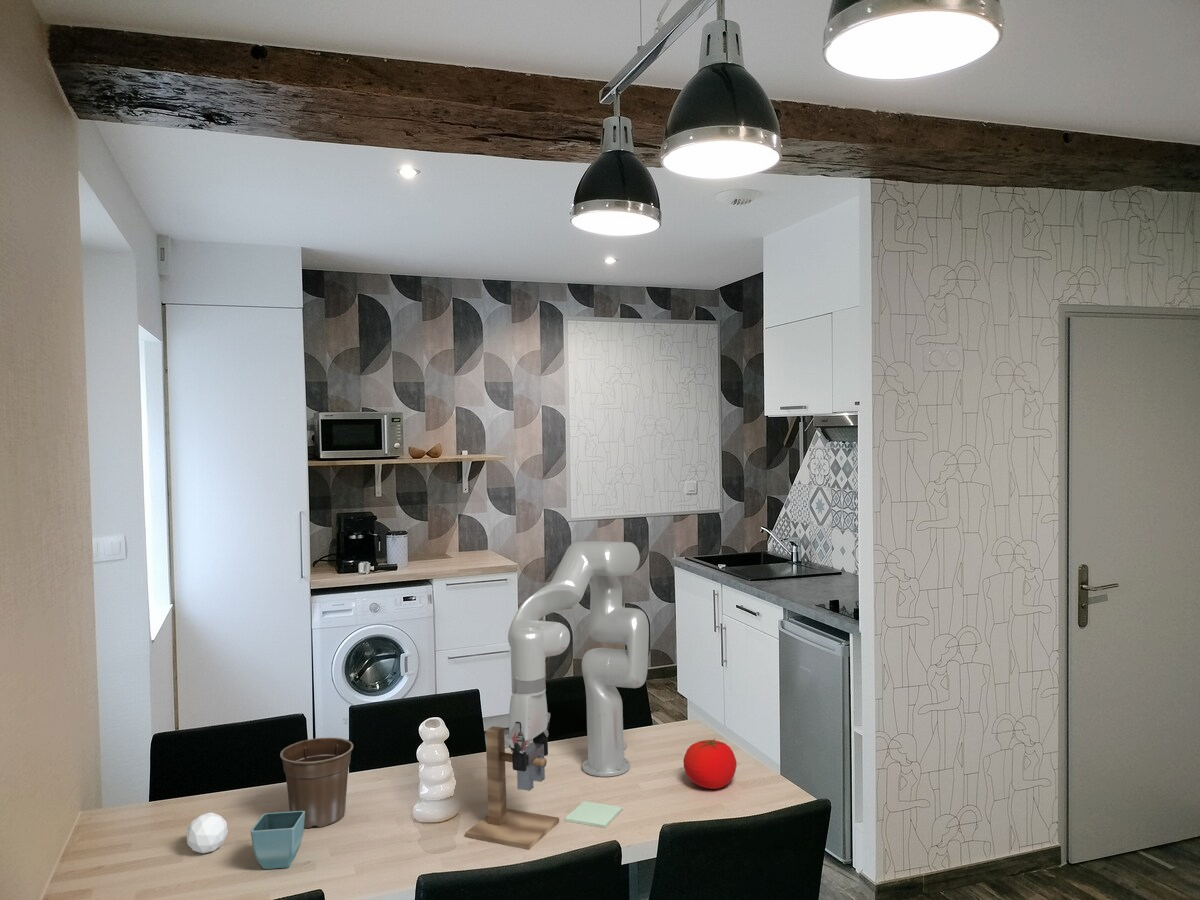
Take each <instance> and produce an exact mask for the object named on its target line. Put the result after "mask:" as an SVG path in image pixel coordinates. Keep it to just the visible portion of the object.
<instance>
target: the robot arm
mask: <svg viewBox="0 0 1200 900" xmlns="http://www.w3.org/2000/svg"><path fill="white" fill-rule="evenodd" d="M640 559H641V555H640V552H639V549H638V547H637V546H636V544H634V543H633V542H630V541H604V540H603V541H602V540H601V541H599V540H594V541H593V540H592V541H591V540H590V541H576V542H573V543H572V544H570V545H569V546H568V547H567V549H566V551H565V553H564V554H563V556H562V559H561V561H560V563H559V565H558V567H557V569H556V571H555V574H554V575H553V577H552V578H551V581H550V583H548V584H546V585H545V586H544V587H541V588H540V589H539V590H537V591H536V592H535V593H533V594H532V595H530V596H528V598H527V599H525V600H524V601H523V602H522V603H521V605H520V606H519V608H518V610H516V613H515V614H514V617H513V619H512V621H511V623H510V625H509V629H508V632H507V633H508V634H507V640H508V642H507V643H508V644H509V648H510V673H511V674H510V677H511V696H510V701H509V702H510V703H509V712H508V713H509V715H508V735H507V742H508V747H509V749H510V753H511V754H512V762H511V764H512V770H513V771H516V772H517V771H524V772H525V771H526V770H527V762H526V752H524V751H525V748H526V746H527V744H528V742H530V741H531V740H533V743H539V744H544V757H547V756H548V755H549V743H548V742H549V741H548V739H549V738H548V737H549V728H550V719H551V712H548V703H547V694H546V691H547V688H546V687H547V686H546V681H547V680H546V658H550V657H555V656H559V655H561V654H563V653H564V652H565V651H566V650H567V649H568V647H569V644H570V641H571V634H570V631H569V628H568V627H567V626H566V625H565V624H563V623H562V622H558V621H548V620H546V621H545V620H541V619H542V618H544V617H546V616H547V615H550V614H552V613H556V612H559V611H561V610H562V611H563V610H564V609H568V608H570V607H573V606H575V605H577V604H578V603H580V602H581V601H582V599H583V597H584V594H585V592H586V590H587V587H588V586H589V589H590V600H589V602H590V604H589V622H588V623H589V635H590V638H591V639H592V641H593V640H594V641H595V642H598V643H603V644H617V645H626V649H618V648H609V647H608V648H607V647H597V648H595V647H594V648H591V649H589V650H587V651H586V652H585V653H584V655H583V657H582V660H581V672H582V677H583V681H584V682H583V683H584V687H585V689H584V690H585V697H586V698H585V699H586V701H585V702H586V731H587V732H586V733H587V734H586V735H587V759H584V761H583V762H582V768H581V769H582V770H583V772H585V773H586V774H588V775H590V776H593V777H594V776H595V777H602V778H603V777H605V778H607V777H614V776H619V775H623V774H625V773H628V771H629V770H630V767H631V763H630V761H629V760H628V759H627V758H625V754H624V753H625V752H624V751H626V750H627V748H628V745H627V743H625V742H624V717H623V715H624V713H623V709H624V707H623V699H622V696H621V694H620V692H619V690H618V689H617V688H624V689H625V688H627V689H637V688H641V687H642V686H643V685H645V682H646V681H647V677H648V667H649V666H648V665H649V642H650V641H649V638H650V626H649V620H648V617H647V614H646V613H645V612H644V611H643V610H642V609H639V608H634V607H624V606H623V587H622V585H621V582H620V580H619V579H618V578H617V577H623V576H629V575H632V574H634V573H635V572H636V571H637V569H638V568H639V565H640ZM519 742H520V743H521V745H520V744H519Z"/></svg>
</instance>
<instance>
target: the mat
mask: <svg viewBox="0 0 1200 900" xmlns="http://www.w3.org/2000/svg"><path fill="white" fill-rule="evenodd" d="M623 808H624V807H622V806H617V805H611V804H605V803H600V802H599V803H598V802H592V801H586V800H583V801H582V802H581V803H580V804H579V805H578V806H577V807H575V809H574V810H572V811H571V812H570V813H569V814H568V815H567V816H565V818H564V821H565V822H570V823H576V824H581V825H584V826H585V825H587V826H591V827H592V826H593V827H597V828H604V829H606V828H607V827H608V826H609V825H610V824H611V823H612V822H613V820H615V818H617V816H619V814H620V813H621V812H622V811H623ZM611 821H612V822H611ZM610 822H611V823H610Z"/></svg>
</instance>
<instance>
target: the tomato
mask: <svg viewBox="0 0 1200 900" xmlns="http://www.w3.org/2000/svg"><path fill="white" fill-rule="evenodd" d="M737 764H738V763H737V759H736V755H735V753H734V751H733V750H732V748H731V747H730V746H729V745H728V744H727V743H726V742H722V741H720V740H715V738H714V739H706V740H705V739H704V740H700V741H699V740H698V741H697V742H695V743H693V744H690V746H689V747H688V748H687V749H686V752H685V753H684V757H683V768H684V772H685V774H686V776H687V777H688V779H690V780H691V781H692V782H693V783H694V784H695V785H697V786H699V787H701V788H705V789H711V790H712V789H713V790H715V789H720V788H723V787H725V786H726V785H728V784H729V783H731V781H732V779H733V777H734V776H735V773H736V769H737Z"/></svg>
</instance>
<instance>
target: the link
mask: <svg viewBox="0 0 1200 900" xmlns="http://www.w3.org/2000/svg"><path fill="white" fill-rule="evenodd" d="M524 752H526V762H527V770H526V771H525V772H524V771H517V770H516V777H517V778H516V780H517V781H516V782H517V783H516V784H517V790H522V791H527V792H530V791H531V790H533V789H534V787H535V786H534V782H537V783H541V782H543V781H544V780H545V779H546V776H545V775H546V772H545V770H546V769H545V767H546V766H545V767H540V766H533V760H534V759H535V758H537V757H539V758H545V756H544V744H539V743H534V742H531V743H529V744H528V745H526V748H525V751H524Z"/></svg>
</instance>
